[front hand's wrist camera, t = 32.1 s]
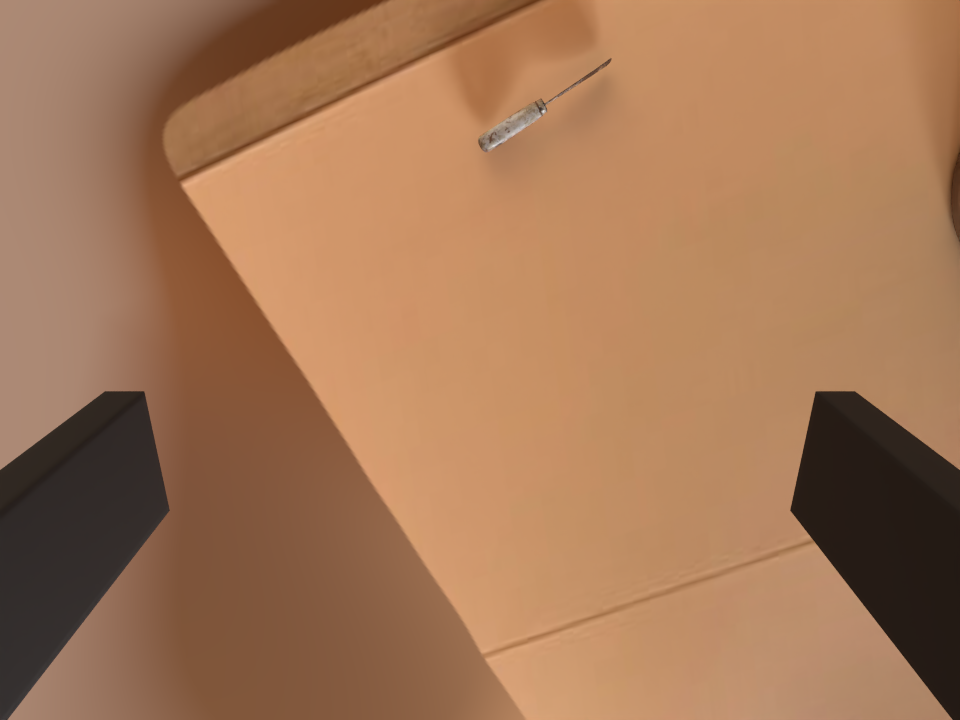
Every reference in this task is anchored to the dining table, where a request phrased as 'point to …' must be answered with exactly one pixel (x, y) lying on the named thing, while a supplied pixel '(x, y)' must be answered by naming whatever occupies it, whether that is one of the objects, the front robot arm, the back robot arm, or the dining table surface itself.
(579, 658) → the dining table surface
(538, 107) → the putty knife
